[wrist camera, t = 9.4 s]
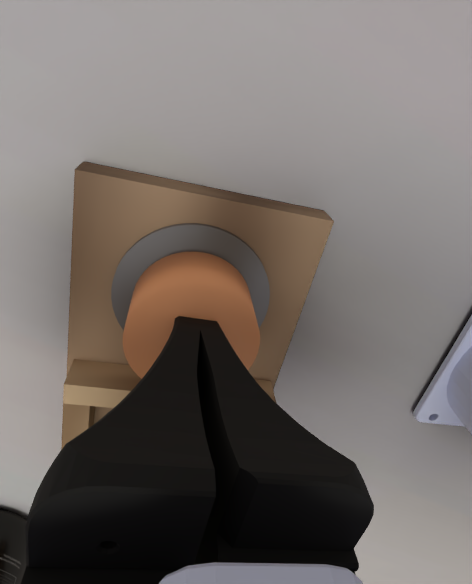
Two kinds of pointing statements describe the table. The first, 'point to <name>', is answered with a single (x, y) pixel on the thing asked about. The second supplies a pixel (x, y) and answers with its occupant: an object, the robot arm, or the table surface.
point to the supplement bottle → (12, 547)
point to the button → (188, 306)
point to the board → (163, 242)
